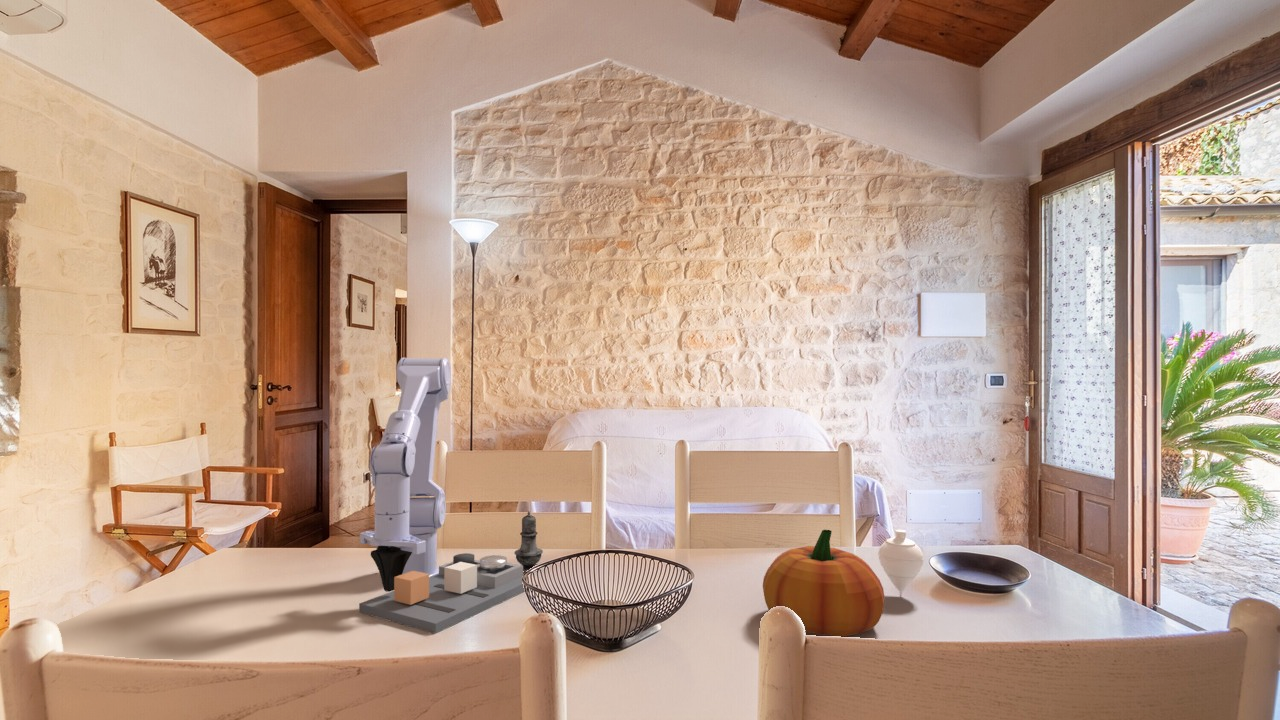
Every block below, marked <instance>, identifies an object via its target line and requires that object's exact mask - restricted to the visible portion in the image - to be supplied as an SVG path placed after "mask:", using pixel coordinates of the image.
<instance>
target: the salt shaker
mask: <svg viewBox="0 0 1280 720" xmlns="http://www.w3.org/2000/svg"><path fill="white" fill-rule="evenodd" d="M521 519H522V520H521V532H520V533H519V534H520V536H521V543H520V547H519V549H517V550H515V551H514V553H513V554H514V555H515V558H516V561H517V562H518V563H519V565H523V571H524V572H523V574H526V573H525V572H526V571H527V570H529V569H530V568H532V567H533V566H535V565H538V563H539V562H540V560H541V558H542V554H543V552H544V551H543V549H542V548H539V547H538V546H537V535H538V534H539V533H538V532H537V528H536V527H537V522H536V521H537V519H536V516H533V515H532V514H531V511H528V512H527V514H526V515H524V516H523V517H522V518H521Z"/></svg>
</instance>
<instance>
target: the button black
mask: <svg viewBox="0 0 1280 720" xmlns="http://www.w3.org/2000/svg"><path fill="white" fill-rule="evenodd" d="M452 560H453V561H452V562H453V564H456V563H459V562H465V563H470V564H474V560H475V554H474V553H466V552H465V553H458V554H456V555H454V556H453V559H452Z"/></svg>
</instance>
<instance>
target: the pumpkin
mask: <svg viewBox="0 0 1280 720" xmlns="http://www.w3.org/2000/svg"><path fill="white" fill-rule="evenodd" d="M831 536H832V530H830V529H822V530H821V532H820V534H819V537H818V538H817V540H816V543H815V545H814V546H812V545H807V546H800V547H796V548H791V549H788V550H785V551H784V552H782V553H781V554H779V555H778V556H777V557H776V558H775V559H774V560H773V562H772V563H771V564H770V565H769V567H768V568H767V570H766V571H765V575H764V576H763V581H762V590H763V598H764V602H765V604H766V607H767V609H768V611H769V610H770V609H771V608H773V607H776V606H785V607H788V608H790V609H791V610H793V611H794V612H795V613H796V614H797V615H798V616H799V617H800V618H801V620H802V622H803V624H804V626H805V630H806V632H805V633H809V634H815V635H823V636H836V637H837V636H838V637H848V636H853V635H857V634H861V633H864V632H867V631H869V630H872V629H873V628H875V626H876V625H877V624H878V623H879V621H880V619H881V617H882V615H883V611H884V602H885V592H884V587H883V585H882V582H881V580H880V578H879V577H878V576H877V574H876V573H875V572H874V570H873V569H872V567H871V566H870V565H869V564H868V563H867V562H866V561H865V560H863V558H862V557H859V556H858V555H856V554H854V553H851V552H848V551H845V550H842V549H839V548H835V547H831V543H830V542H831Z"/></svg>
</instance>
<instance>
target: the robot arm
mask: <svg viewBox="0 0 1280 720" xmlns="http://www.w3.org/2000/svg"><path fill="white" fill-rule="evenodd" d="M451 372H452V371H451V364H450V361H449V360H448V358H447V357H442V358H439V357H437V358H436V357H435V358H434V357H433V358H431V357H429V358H428V357H427V358H426V357H425V358H424V357H423V358H421V357H420V358H419V357H418V358H417V357H415V358H413V357H411V358H410V357H401V358H400V359H399V360H398V363H397V365H396V374H395V375H396V380H397V383H398V385H399V389H400V390H401V393H400V396H399V402H398V408H397V411H394V412H392V413H390V415H389V416H388V420H387V423H386V425H385V429H384V431H383V434H382V437H381V440H380V443H379V444H377V445H376V446H373V448H372V449H371V451H370V452H371V453H370V458H369V471H370V473H371V484H372V487H374V530H367V531H363V532H360V533H359V545H366V544H368V545H369V546H372V547H376V549H374V550H371V551H370V557H371V558H372V560H373V561H374V563H375V565H376V568H377V570H378V573H379V575H380V579H381V583H382V588H383V591H385V592H387V593H389V592H392V591H394V577H396V576H399V575H402V574H405V573H408V572H411V571H417V572H422V573H426V574H429V578H430V577H433V576H436V575H438V574H439V567H437V562H438V561H437V558H438V557H437V549H438V548H437V547H438V529H440V528H441V527H442V526H444V524H445V520H446V512H447V506H446V493H445V491H444V489H443V488H442V487H441V486H440V485H438V484H437V483H436V482H434V481H433V478H434V467H435V466H434V465H435V456H436V444H437V432H438V431H437V430H438V420H439V419H438V418H439V411H440V408H441V403H442V402H444V401H446V400H448V399H449V394H450V392H451V391H450V389H451V376H452V373H451Z"/></svg>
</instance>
